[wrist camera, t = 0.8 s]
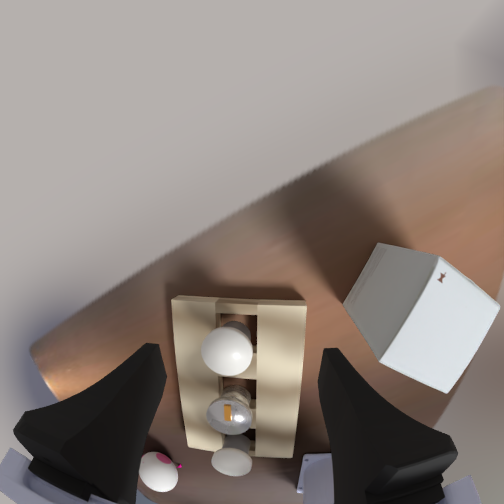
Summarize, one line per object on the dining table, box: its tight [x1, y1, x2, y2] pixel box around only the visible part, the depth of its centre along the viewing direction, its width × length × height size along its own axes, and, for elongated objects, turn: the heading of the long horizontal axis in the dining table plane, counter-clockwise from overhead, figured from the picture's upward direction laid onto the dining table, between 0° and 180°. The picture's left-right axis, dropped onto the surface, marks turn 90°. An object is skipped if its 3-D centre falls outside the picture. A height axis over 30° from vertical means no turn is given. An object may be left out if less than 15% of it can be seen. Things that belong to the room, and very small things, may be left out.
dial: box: [206, 385, 253, 435], centre depth 24 cm, size 4×4×4 cm
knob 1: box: [201, 321, 253, 376], centre depth 24 cm, size 4×4×4 cm
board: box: [171, 295, 307, 458], centre depth 28 cm, size 20×13×2 cm, turn 0°
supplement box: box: [343, 242, 500, 393], centre depth 20 cm, size 7×7×13 cm
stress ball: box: [139, 452, 181, 492], centre depth 30 cm, size 8×8×7 cm
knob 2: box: [212, 434, 252, 476], centre depth 25 cm, size 4×4×4 cm
